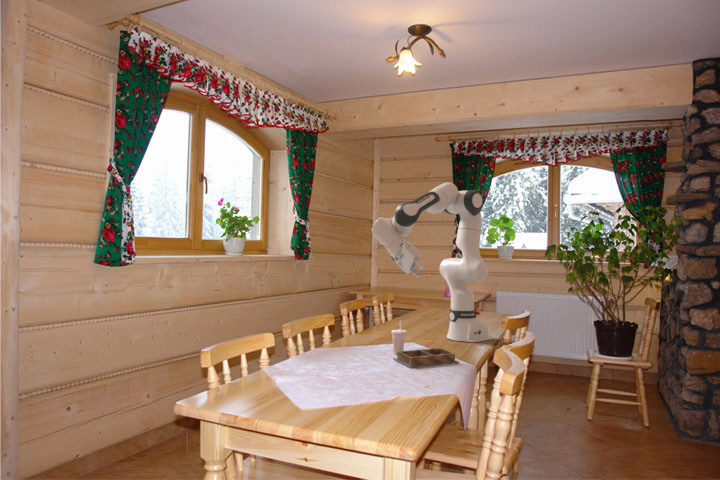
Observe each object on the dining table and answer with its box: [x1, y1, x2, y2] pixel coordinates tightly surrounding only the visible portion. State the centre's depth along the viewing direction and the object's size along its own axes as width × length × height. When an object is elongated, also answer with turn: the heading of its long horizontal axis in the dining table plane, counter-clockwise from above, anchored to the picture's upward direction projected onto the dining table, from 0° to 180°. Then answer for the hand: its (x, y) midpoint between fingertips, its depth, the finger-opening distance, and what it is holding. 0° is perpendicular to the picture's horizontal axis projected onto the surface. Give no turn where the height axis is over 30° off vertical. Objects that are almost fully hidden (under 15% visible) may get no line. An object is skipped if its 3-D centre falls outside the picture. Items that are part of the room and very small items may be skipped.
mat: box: [393, 357, 460, 369], centre depth 188 cm, size 22×13×1 cm, turn 114°
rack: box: [396, 347, 456, 366], centre depth 188 cm, size 20×10×3 cm, turn 114°
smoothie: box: [390, 320, 408, 356], centre depth 199 cm, size 6×6×14 cm
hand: (421, 272), depth 201 cm, fingers open, 8 cm apart
